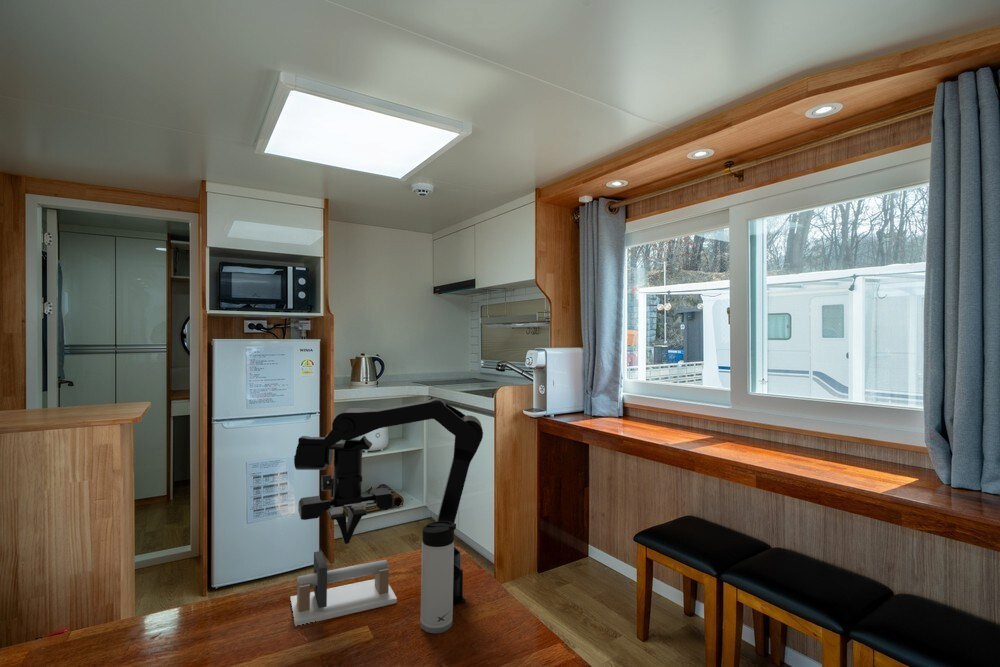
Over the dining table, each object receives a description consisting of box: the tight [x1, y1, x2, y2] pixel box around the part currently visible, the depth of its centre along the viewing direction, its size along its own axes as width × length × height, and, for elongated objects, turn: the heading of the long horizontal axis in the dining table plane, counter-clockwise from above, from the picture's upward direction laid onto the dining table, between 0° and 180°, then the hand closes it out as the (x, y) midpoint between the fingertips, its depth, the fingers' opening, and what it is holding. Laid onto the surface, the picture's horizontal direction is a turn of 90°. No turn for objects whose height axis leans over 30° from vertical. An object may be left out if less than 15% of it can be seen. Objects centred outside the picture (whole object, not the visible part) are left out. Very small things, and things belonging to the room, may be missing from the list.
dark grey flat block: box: [312, 550, 328, 608], centre depth 106 cm, size 2×8×8 cm, turn 27°
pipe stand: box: [289, 559, 398, 627], centre depth 108 cm, size 20×10×7 cm, turn 117°
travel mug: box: [419, 521, 457, 634], centre depth 101 cm, size 6×7×20 cm
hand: (346, 543), depth 108 cm, fingers closed
